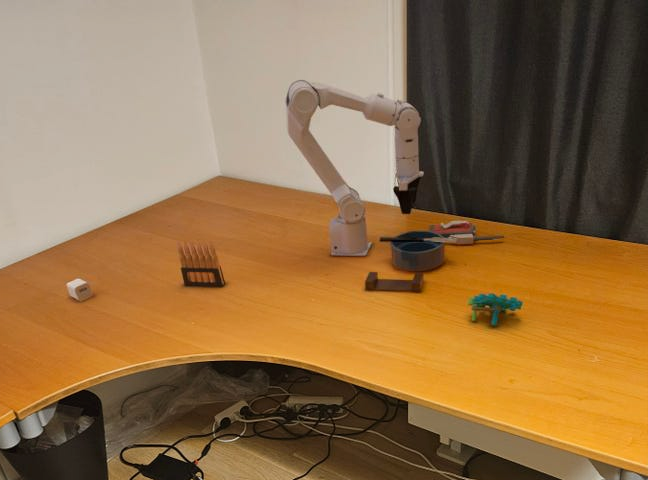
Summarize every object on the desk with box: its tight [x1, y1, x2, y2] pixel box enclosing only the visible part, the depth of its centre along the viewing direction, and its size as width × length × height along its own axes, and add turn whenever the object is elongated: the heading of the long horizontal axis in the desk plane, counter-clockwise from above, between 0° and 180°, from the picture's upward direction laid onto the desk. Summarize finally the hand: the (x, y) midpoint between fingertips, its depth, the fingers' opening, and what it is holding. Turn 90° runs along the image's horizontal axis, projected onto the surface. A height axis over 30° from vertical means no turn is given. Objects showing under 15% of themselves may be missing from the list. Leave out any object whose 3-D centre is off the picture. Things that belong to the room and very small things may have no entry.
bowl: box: [390, 230, 446, 272], centre depth 154 cm, size 13×13×6 cm
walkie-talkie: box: [428, 219, 505, 245], centre depth 162 cm, size 9×4×20 cm
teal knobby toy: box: [467, 292, 524, 327], centre depth 127 cm, size 11×6×10 cm
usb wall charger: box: [66, 278, 94, 302], centre depth 158 cm, size 4×7×4 cm, turn 47°
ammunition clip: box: [176, 240, 226, 288], centre depth 153 cm, size 11×2×12 cm, turn 75°
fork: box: [379, 236, 457, 245], centre depth 152 cm, size 19×2×1 cm, turn 75°
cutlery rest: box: [364, 271, 425, 293], centre depth 145 cm, size 13×5×2 cm, turn 75°
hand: (408, 207), depth 160 cm, fingers open, 7 cm apart
